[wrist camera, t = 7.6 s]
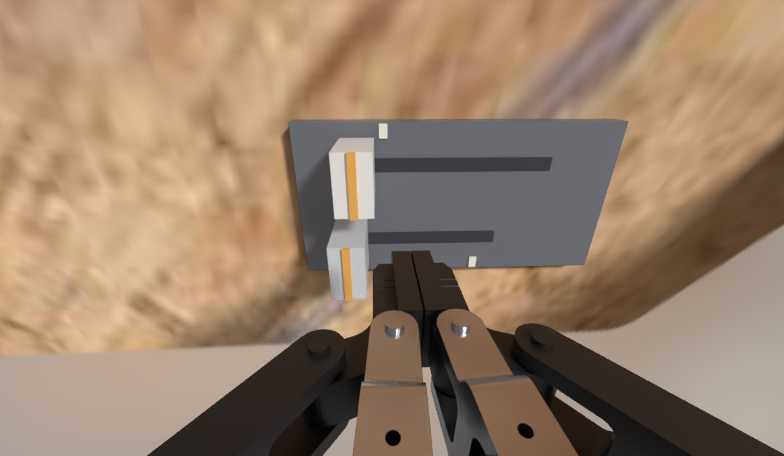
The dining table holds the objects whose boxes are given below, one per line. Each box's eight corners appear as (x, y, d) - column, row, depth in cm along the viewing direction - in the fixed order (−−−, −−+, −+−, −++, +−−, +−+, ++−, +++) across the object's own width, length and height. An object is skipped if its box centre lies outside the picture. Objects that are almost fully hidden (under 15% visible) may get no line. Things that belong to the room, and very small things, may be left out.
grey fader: (367, 216, 24) (364, 249, 20) (368, 261, 26) (366, 300, 21) (336, 217, 24) (326, 250, 19) (339, 261, 26) (331, 301, 21)
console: (614, 118, 24) (629, 121, 22) (574, 256, 29) (584, 265, 27) (293, 119, 23) (287, 122, 21) (311, 261, 28) (307, 271, 26)
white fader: (373, 137, 22) (372, 152, 17) (375, 192, 23) (374, 220, 19) (339, 137, 22) (328, 153, 17) (343, 192, 23) (334, 220, 19)
